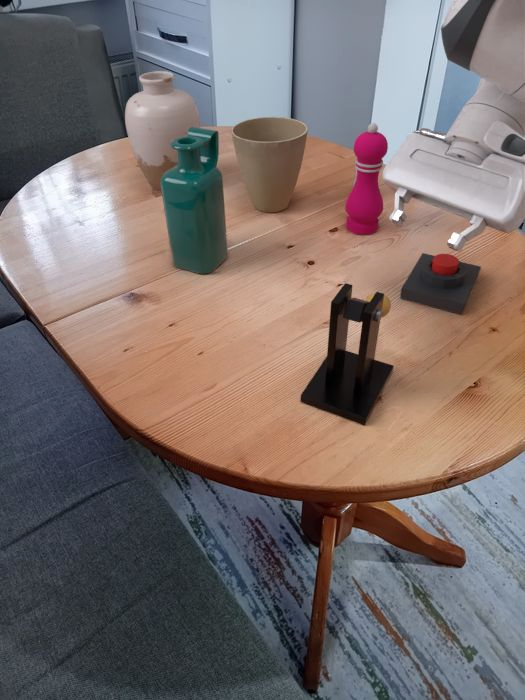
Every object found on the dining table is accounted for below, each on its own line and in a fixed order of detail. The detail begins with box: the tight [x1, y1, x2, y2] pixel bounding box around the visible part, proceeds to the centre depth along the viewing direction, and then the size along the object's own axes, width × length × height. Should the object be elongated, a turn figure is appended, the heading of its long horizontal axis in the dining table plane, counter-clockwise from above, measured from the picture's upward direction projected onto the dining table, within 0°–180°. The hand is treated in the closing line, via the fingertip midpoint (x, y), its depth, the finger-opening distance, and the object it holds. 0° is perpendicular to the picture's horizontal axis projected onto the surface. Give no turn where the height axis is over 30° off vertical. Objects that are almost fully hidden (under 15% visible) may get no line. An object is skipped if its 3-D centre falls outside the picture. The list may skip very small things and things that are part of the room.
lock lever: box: [343, 292, 392, 323], centre depth 69 cm, size 14×4×4 cm, turn 152°
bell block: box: [399, 252, 482, 316], centre depth 89 cm, size 12×10×4 cm
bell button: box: [432, 253, 460, 275], centre depth 87 cm, size 4×4×2 cm
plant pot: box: [230, 116, 309, 213], centre depth 110 cm, size 15×15×16 cm
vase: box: [124, 70, 201, 192], centre depth 117 cm, size 16×16×23 cm
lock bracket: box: [299, 282, 395, 426], centre depth 68 cm, size 11×9×15 cm
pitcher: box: [160, 127, 229, 275], centre depth 92 cm, size 10×8×22 cm
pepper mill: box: [344, 122, 389, 236], centre depth 100 cm, size 7×7×20 cm
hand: (422, 235), depth 73 cm, fingers open, 8 cm apart
